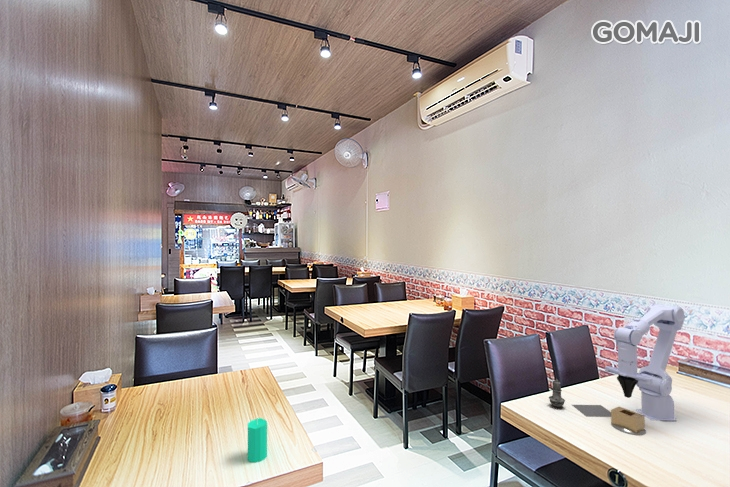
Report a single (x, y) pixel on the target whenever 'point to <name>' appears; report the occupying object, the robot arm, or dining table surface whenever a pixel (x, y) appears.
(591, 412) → the mat
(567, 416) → the dining table surface
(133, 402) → the dining table surface
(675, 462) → the dining table surface
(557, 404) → the stepped metal shaft
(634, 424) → the wooden cubby box
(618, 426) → the hub
